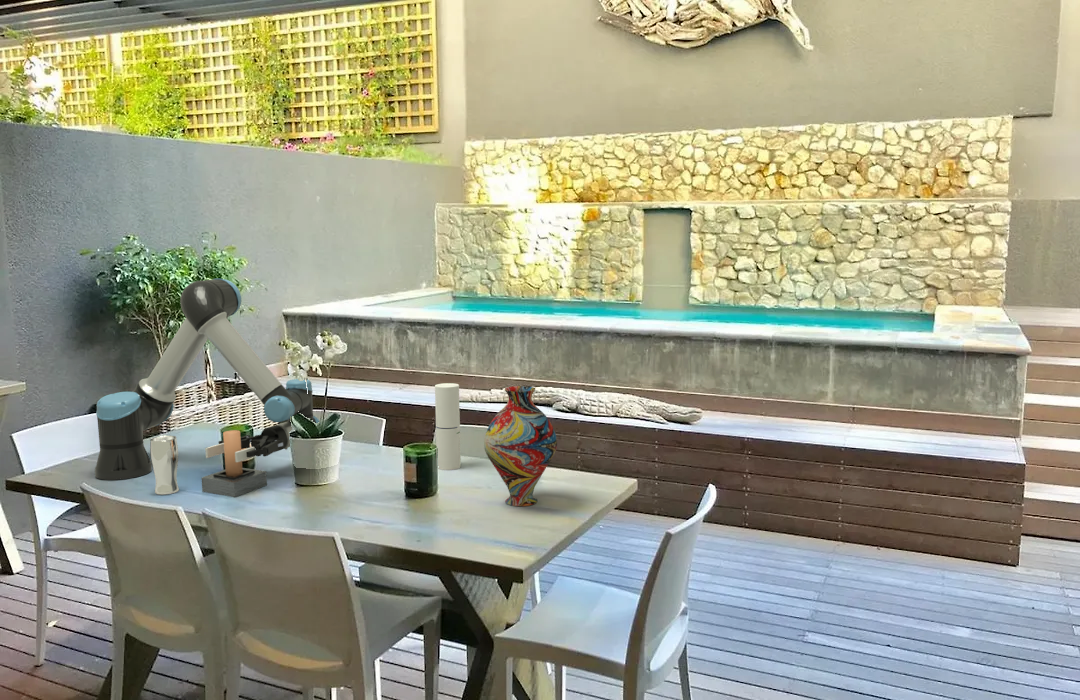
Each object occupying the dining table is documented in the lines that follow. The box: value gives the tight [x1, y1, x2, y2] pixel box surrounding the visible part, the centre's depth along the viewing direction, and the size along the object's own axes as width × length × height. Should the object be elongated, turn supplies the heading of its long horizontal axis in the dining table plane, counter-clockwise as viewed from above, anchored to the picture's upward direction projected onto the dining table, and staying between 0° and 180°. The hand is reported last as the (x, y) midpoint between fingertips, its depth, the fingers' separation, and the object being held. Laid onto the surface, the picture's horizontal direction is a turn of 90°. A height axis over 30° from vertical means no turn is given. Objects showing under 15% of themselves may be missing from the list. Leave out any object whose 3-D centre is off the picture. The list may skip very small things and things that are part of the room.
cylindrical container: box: [434, 382, 462, 471], centre depth 254 cm, size 7×7×25 cm
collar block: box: [201, 467, 268, 498], centre depth 235 cm, size 12×12×4 cm
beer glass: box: [149, 435, 180, 496], centre depth 232 cm, size 7×7×15 cm
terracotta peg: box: [222, 429, 243, 477], centre depth 234 cm, size 4×4×16 cm
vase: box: [483, 385, 558, 507], centre depth 220 cm, size 19×19×30 cm
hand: (221, 455), depth 230 cm, fingers open, 10 cm apart
